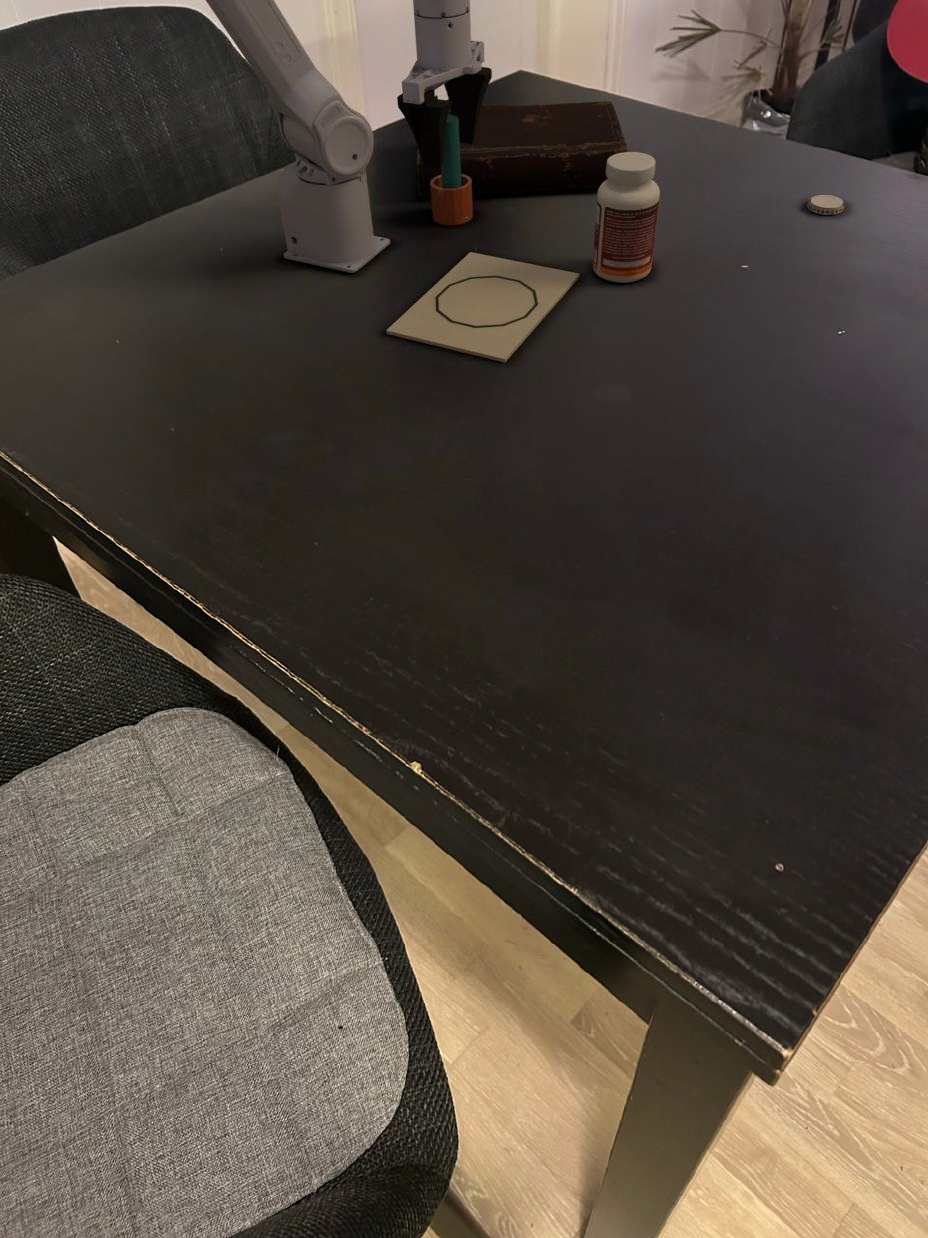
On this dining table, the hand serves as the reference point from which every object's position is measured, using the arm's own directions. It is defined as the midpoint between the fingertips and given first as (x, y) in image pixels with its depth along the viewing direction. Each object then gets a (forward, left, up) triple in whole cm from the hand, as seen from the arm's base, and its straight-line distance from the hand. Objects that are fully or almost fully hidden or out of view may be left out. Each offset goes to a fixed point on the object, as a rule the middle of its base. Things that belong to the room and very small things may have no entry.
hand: (449, 153), depth 98 cm
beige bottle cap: (+39, +18, -7) cm, 44 cm away
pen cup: (0, 0, -7) cm, 7 cm away
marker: (0, 0, -6) cm, 6 cm away
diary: (+1, +16, -7) cm, 18 cm away
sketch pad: (+13, -17, -7) cm, 23 cm away
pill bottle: (+23, -5, -7) cm, 25 cm away
